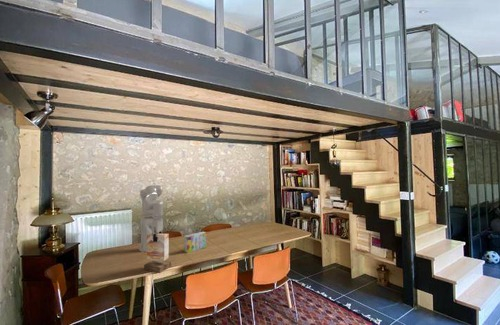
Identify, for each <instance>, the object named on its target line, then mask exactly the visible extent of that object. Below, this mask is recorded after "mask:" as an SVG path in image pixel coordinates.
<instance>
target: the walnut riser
mask: <svg viewBox="0 0 500 325" xmlns="http://www.w3.org/2000/svg"><path fill="white" fill-rule="evenodd" d="M171 267H172V262H171V261H166V260H165V261H153V260H150V261H149V262H146V263H145V264H143V269H144V270H145V271H150V272H153V273H157V274H158V273H159V274H160V273H162V272H165V270H166V271H167V269H170V268H171Z"/></svg>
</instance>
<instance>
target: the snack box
mask: <svg viewBox="0 0 500 325" xmlns="http://www.w3.org/2000/svg"><path fill="white" fill-rule="evenodd" d="M183 239H184V242H183V244H184V247H183V248H184V252H185V253H187V254H188V253H192V252H195V251H198V250H202V249H205V248H207V232H206V231H200V232H195V233H191V234H188V235H184V236H183Z"/></svg>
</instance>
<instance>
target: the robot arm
mask: <svg viewBox="0 0 500 325" xmlns="http://www.w3.org/2000/svg"><path fill="white" fill-rule="evenodd" d="M163 190H164V189H163V187H162V185H158V184H157V185H156V184H155V185H153V184H152V185H148V186H146V187H145V188H144V189H141V190H140V191H139V196H140V199H141V213H142V216H143V217H141V218H140V220H139V223H140V236H141V237H140V238H141V239H140V248H138V250H139V252H142V253H143V252H144V253H145V252H146V253H147V235H149V234H151V233H152V235H153V242H157V233H160V234H164V232H163V231H164V202H163V200H161V199H158V198H159V197H160V196H161V195H162V194H163ZM157 199H158V200H157ZM150 227H151V228H150ZM155 233H156V234H155Z"/></svg>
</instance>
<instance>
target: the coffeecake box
mask: <svg viewBox="0 0 500 325" xmlns="http://www.w3.org/2000/svg"><path fill="white" fill-rule="evenodd" d="M155 234H156V233H155ZM169 238H170V237H169V233H162V234H160V233H159V232H158V233H157V242H153V235H152V233H151V234H149V235H147V252H146V261H166V260H168V259H169V250H170V249H169V243H170V242H169Z"/></svg>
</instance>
